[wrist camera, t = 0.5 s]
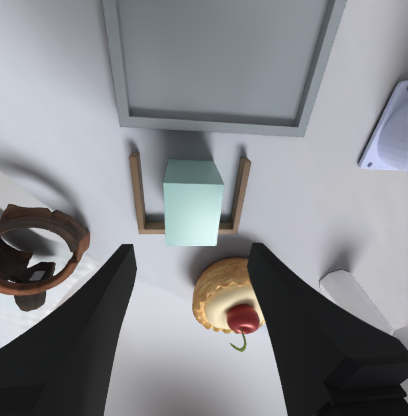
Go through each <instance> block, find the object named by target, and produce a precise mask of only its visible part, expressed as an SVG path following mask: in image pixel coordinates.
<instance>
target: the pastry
mask: <svg viewBox="0 0 408 416" xmlns="http://www.w3.org/2000/svg"><path fill="white" fill-rule="evenodd" d="M247 263H248V259H247V258H242V257H231V258H226V259H222V260H220V261H217V262H215V263H213V264H212V265H210V266H209V267H208V268H207V269H206V270H205V271H204V272H203V273H202V275H201V276H200V277H199V279H198V281H197V283H196V286H195V289H194V292H193V304H192V306H193V307H192V309H193V314H194V316H195V318H196V320H198V322H199V323H201V324H202V325H203V326H204V327H205V328H206V329H210V328H212V329H213V330H214V331H215V332H218V331H219V330H222V331H223V332H224V333H230V332H234V333H236V334H238V333H241V334H242V335H243V338H244V346H243V347H242V348H237V347H235V346H234V345H232V344H231V343H230V344H231V346H233V347H234V348H235V349H236V350H238V351H241V352H242V351H244V350H245V349H246V339H245V336H244V334H249V333H252V332H255V331H256V330H257V329H258V328H259V327H261V326H262V325H263V324H264V323H265V319H264V317H263V314H262V311H261V309H260V306H259V303H258V301H257V298H256V295H255V293H254V290H253V287H252V285H251V282H250V278H249V274H248V270H247Z"/></svg>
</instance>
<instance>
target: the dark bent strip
mask: <svg viewBox="0 0 408 416" xmlns="http://www.w3.org/2000/svg"><path fill="white" fill-rule="evenodd" d="M129 160H130V168H131V175H132V183H133V191H134V199H135V207H136V215H137V223H138V230H139V234H165V222H146V214H145V204H144V194H143V184H142V174H141V163H140V153H132V154H131V155H130V157H129ZM250 166H251V161H250V160H249V159H248V158H244V157H241V161H240V167H239V173H238V179H237V185H236V191H235V197H234V203H233V209H232V215H231V221H230V222H219V229H218V234H237V232H238V227H239V222H240V217H241V212H242V207H243V202H244V197H245V192H246V186H247V181H248V176H249V171H250Z"/></svg>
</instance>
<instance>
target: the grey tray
mask: <svg viewBox="0 0 408 416" xmlns="http://www.w3.org/2000/svg"><path fill="white" fill-rule="evenodd" d="M346 1H347V0H102V3H103V10H104V17H105V24H106V32H107V39H108V46H109V53H110V60H111V67H112V74H113V81H114V88H115V96H116V103H117V110H118V117H119V124H120V127H134V128H151V129H168V130H185V131H202V132H220V133H237V134H254V135H271V136H288V137H304V135H305V132H306V129H307V125H308V122H309V119H310V116H311V113H312V110H313V106H314V103H315V100H316V97H317V94H318V91H319V87H320V84H321V81H322V78H323V75H324V71H325V68H326V65H327V62H328V59H329V56H330V52H331V49H332V46H333V43H334V40H335V36H336V33H337V30H338V27H339V24H340V21H341V17H342V14H343V11H344V8H345V5H346Z"/></svg>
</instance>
